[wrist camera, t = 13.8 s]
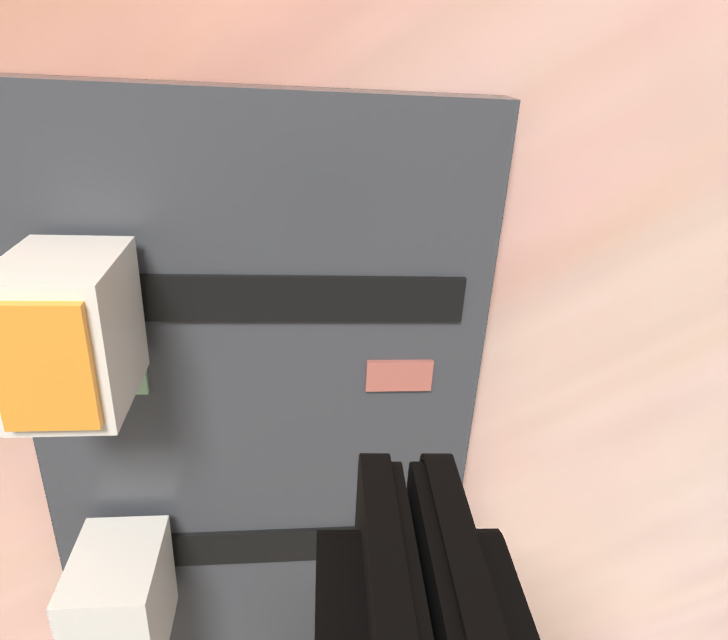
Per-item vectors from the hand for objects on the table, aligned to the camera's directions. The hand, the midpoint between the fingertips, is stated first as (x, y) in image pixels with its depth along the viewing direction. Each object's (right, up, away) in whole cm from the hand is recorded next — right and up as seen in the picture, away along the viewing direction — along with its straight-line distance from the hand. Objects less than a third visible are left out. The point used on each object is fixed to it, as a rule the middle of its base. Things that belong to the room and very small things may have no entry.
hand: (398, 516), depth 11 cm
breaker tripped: (-9, +4, +8) cm, 13 cm away
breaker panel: (-5, 0, +13) cm, 13 cm away
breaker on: (-10, -6, +13) cm, 17 cm away
